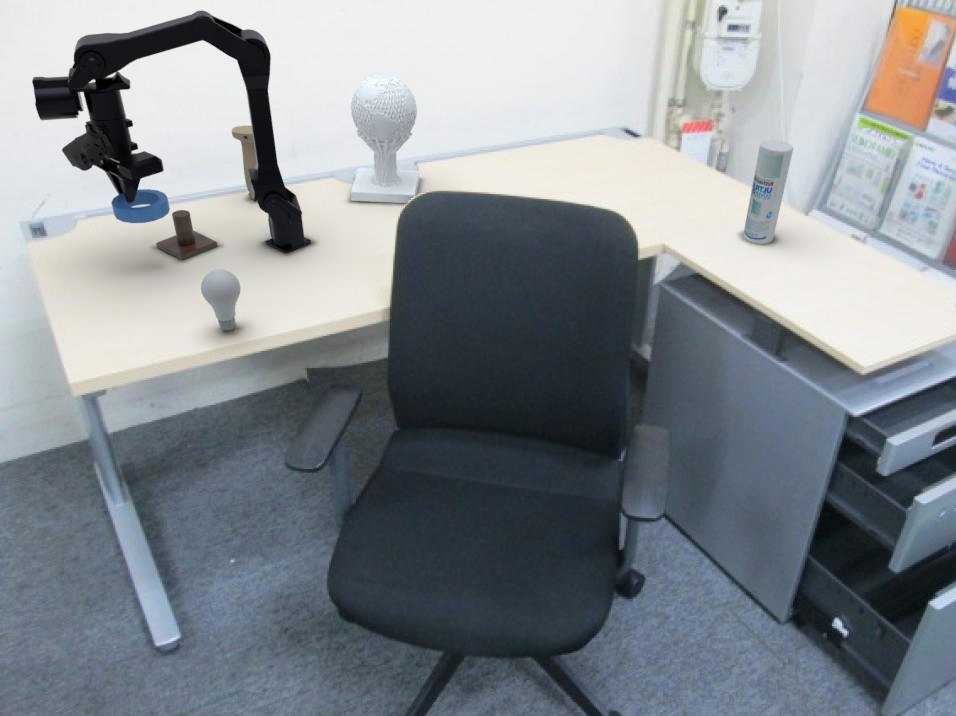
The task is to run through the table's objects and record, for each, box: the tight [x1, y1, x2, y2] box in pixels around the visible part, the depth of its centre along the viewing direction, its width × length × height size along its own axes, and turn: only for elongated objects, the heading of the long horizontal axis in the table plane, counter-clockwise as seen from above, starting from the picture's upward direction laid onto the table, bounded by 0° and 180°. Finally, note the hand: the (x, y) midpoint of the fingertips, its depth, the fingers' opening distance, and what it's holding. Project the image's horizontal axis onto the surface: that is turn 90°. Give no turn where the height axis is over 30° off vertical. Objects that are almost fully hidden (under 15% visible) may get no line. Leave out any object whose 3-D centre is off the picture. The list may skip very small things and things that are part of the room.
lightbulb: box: [200, 269, 242, 332], centre depth 150 cm, size 6×6×11 cm
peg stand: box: [155, 209, 218, 261], centre depth 175 cm, size 8×8×7 cm
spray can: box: [743, 139, 794, 245], centre depth 187 cm, size 6×6×20 cm
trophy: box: [350, 74, 420, 204], centre depth 197 cm, size 14×14×25 cm
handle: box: [231, 125, 256, 200], centre depth 193 cm, size 5×6×15 cm
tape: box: [111, 188, 171, 224], centre depth 164 cm, size 9×9×2 cm
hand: (128, 200), depth 166 cm, fingers closed on tape, 1 cm apart
